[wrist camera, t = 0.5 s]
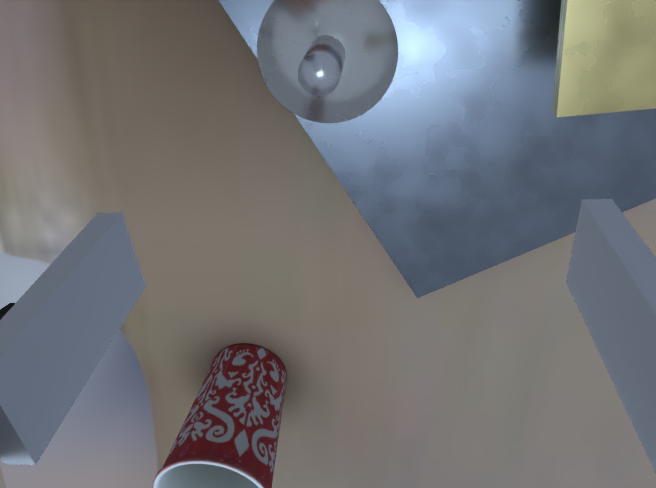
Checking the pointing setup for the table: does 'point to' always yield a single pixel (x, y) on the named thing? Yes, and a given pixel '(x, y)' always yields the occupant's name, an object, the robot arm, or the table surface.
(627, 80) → the block
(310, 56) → the pintle
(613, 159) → the plate
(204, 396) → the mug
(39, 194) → the table surface
